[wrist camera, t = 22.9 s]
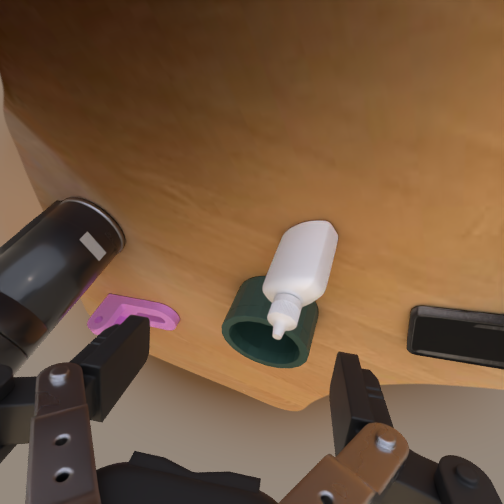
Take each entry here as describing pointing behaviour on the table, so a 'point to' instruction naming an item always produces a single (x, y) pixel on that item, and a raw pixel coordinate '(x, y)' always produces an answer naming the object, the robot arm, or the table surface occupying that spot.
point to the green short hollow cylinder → (267, 329)
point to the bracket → (131, 313)
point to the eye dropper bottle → (299, 272)
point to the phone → (457, 336)
